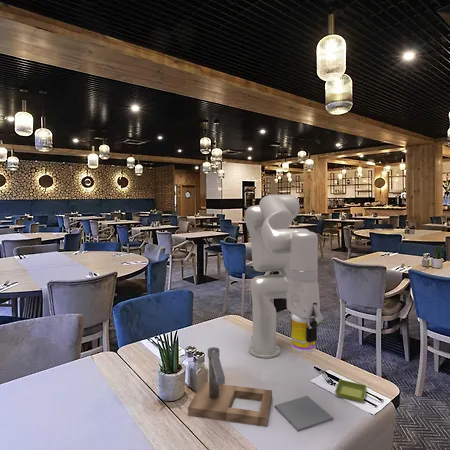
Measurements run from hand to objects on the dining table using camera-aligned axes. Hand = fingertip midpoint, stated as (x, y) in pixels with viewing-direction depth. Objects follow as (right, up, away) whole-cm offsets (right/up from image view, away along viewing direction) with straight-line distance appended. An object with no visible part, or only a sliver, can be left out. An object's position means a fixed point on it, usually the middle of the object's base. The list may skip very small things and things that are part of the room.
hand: (303, 335), depth 99 cm
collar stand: (-21, -23, +6) cm, 32 cm away
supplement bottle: (0, -4, 0) cm, 4 cm away
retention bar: (-25, -9, -1) cm, 26 cm away
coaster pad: (0, -23, +2) cm, 23 cm away
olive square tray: (+18, -23, +12) cm, 31 cm away
